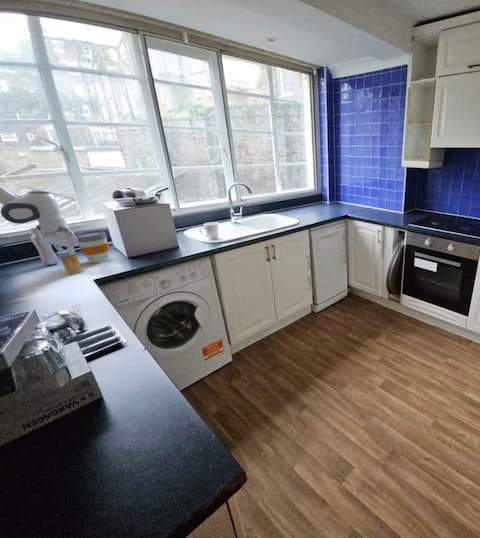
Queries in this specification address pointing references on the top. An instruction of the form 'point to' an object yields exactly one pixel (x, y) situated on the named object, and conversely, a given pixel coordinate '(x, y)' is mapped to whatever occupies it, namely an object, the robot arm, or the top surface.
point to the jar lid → (64, 253)
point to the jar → (71, 264)
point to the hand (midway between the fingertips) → (67, 253)
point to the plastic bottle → (43, 248)
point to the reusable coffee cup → (94, 246)
